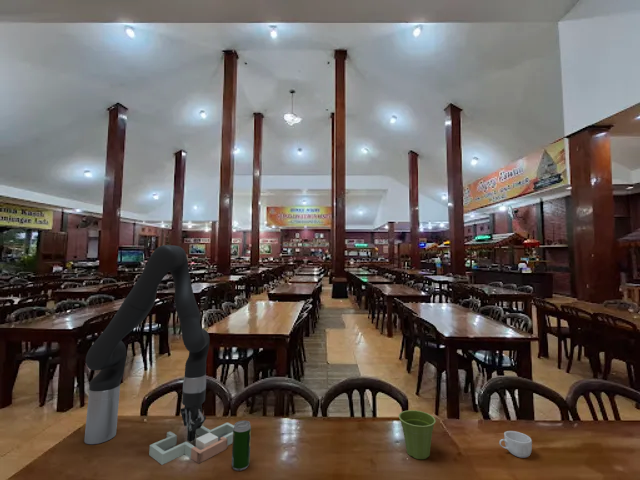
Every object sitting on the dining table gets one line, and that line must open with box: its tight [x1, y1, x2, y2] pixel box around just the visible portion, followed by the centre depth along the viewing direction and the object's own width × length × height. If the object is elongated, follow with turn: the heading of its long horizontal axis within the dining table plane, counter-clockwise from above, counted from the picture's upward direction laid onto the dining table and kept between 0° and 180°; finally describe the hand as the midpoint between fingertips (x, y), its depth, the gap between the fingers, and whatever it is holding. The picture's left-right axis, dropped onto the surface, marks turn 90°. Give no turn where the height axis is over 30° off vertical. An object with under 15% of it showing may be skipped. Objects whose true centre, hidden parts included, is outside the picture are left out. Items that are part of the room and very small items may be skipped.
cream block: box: [195, 432, 218, 450], centre depth 100 cm, size 5×5×4 cm
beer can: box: [231, 420, 252, 472], centre depth 94 cm, size 5×5×12 cm
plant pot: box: [398, 409, 437, 460], centre depth 101 cm, size 12×12×11 cm
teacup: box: [498, 430, 533, 459], centre depth 101 cm, size 10×8×5 cm
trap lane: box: [148, 421, 234, 466], centre depth 104 cm, size 20×25×3 cm
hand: (191, 440), depth 105 cm, fingers closed
